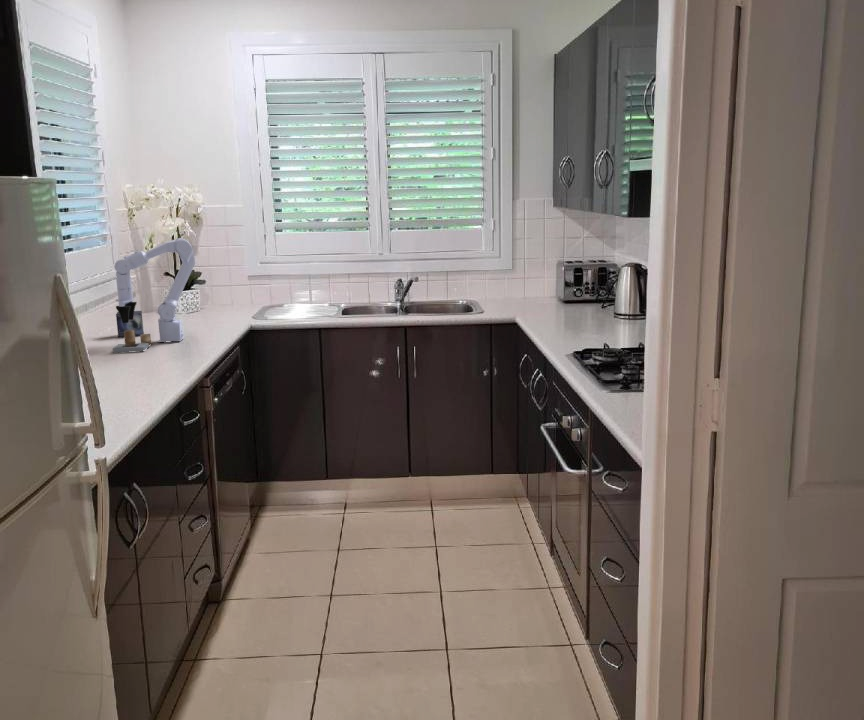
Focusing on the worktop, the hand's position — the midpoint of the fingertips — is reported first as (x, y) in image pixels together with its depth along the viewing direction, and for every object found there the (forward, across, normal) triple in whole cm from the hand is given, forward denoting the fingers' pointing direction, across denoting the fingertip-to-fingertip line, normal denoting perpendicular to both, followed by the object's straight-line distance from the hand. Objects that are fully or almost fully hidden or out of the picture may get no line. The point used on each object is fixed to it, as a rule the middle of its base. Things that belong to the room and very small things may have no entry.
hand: (128, 321), depth 339 cm
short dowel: (+10, +3, +7) cm, 13 cm away
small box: (+10, -21, -5) cm, 24 cm away
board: (+10, +13, +4) cm, 17 cm away
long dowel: (+10, +13, +3) cm, 16 cm away
